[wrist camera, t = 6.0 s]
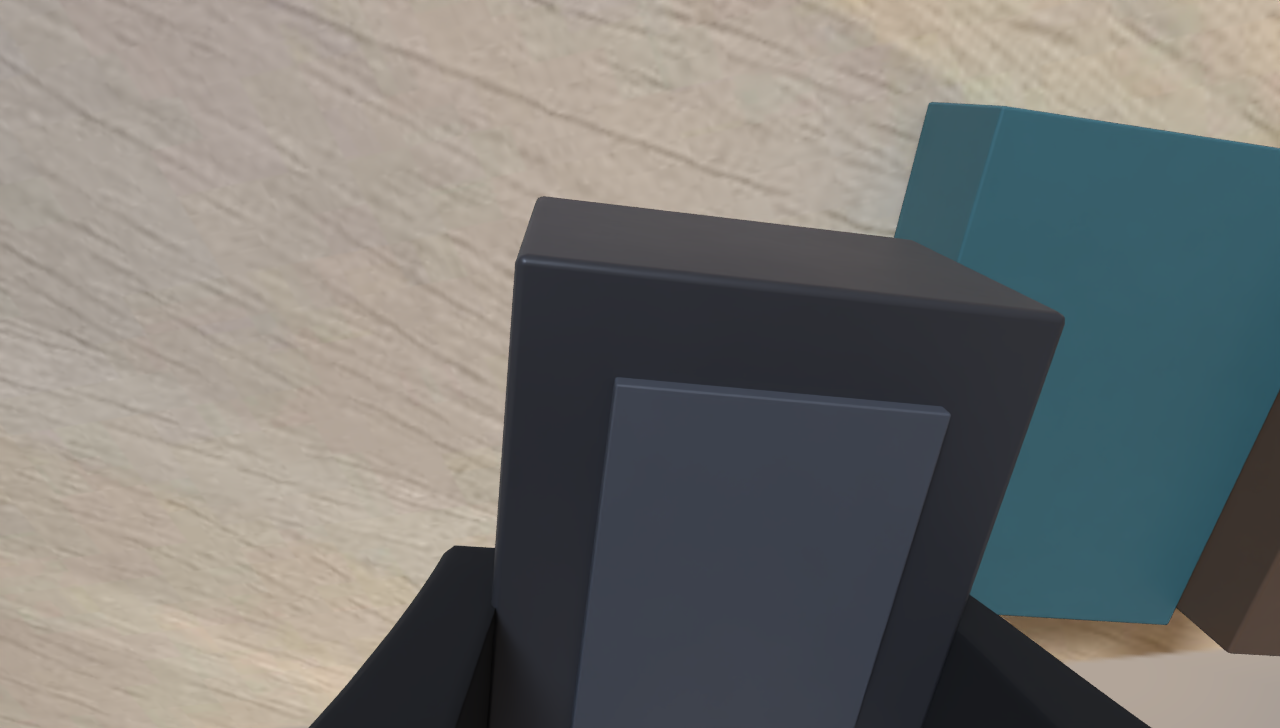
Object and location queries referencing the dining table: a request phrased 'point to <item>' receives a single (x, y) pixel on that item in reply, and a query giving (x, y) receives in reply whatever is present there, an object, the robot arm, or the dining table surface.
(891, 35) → the dining table surface
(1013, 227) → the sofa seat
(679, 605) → the remote
